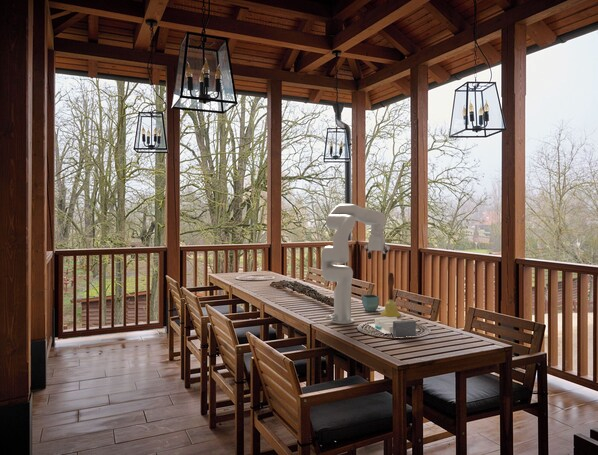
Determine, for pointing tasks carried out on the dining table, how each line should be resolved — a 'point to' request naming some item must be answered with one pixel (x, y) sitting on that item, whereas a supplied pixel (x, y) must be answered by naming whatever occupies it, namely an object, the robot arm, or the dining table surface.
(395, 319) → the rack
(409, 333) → the panel
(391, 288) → the handbell
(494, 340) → the dining table surface
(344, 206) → the robot arm
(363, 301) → the flower pot
